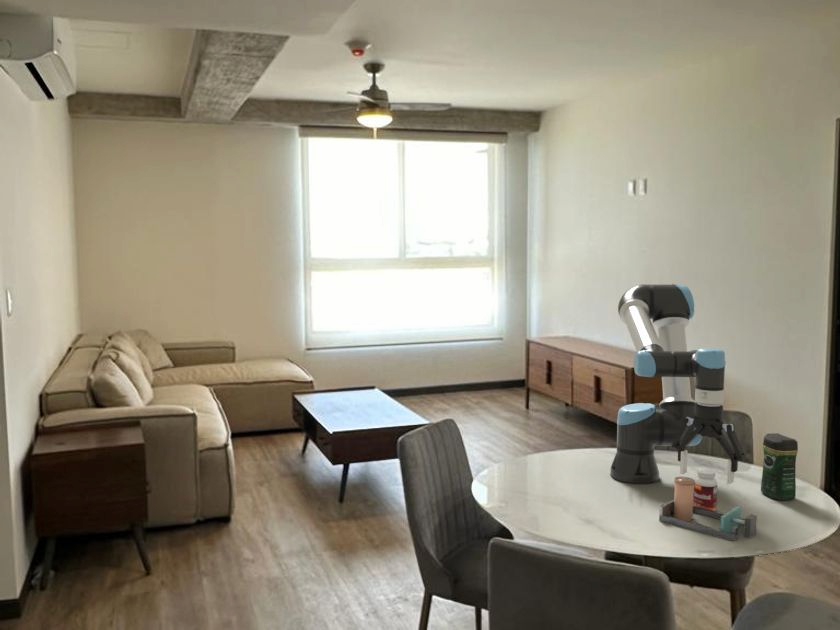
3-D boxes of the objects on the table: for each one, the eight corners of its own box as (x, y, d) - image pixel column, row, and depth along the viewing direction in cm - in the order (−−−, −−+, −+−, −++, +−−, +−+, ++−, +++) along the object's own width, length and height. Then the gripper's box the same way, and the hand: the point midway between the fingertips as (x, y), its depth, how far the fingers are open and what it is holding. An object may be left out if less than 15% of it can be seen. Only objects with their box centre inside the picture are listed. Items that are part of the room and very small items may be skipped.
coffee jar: (800, 500, 229) (803, 438, 227) (776, 502, 227) (779, 440, 225) (779, 490, 238) (782, 430, 236) (755, 491, 237) (758, 431, 235)
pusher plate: (720, 535, 202) (721, 516, 201) (737, 524, 210) (737, 506, 209) (744, 541, 198) (745, 522, 197) (761, 530, 205) (761, 511, 205)
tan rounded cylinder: (669, 517, 214) (671, 479, 213) (678, 512, 218) (679, 475, 217) (687, 522, 211) (689, 483, 210) (696, 517, 215) (697, 479, 213)
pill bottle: (689, 509, 221) (691, 471, 220) (697, 503, 226) (699, 466, 225) (711, 514, 217) (713, 475, 216) (719, 508, 222) (721, 470, 221)
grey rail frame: (659, 520, 212) (659, 506, 212) (681, 508, 222) (682, 494, 221) (733, 541, 198) (734, 525, 198) (754, 526, 208) (755, 512, 207)
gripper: (661, 399, 224) (659, 471, 226) (748, 412, 207) (745, 490, 209) (673, 396, 230) (670, 466, 231) (759, 408, 213) (756, 484, 214)
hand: (706, 477), depth 220 cm, fingers open, 13 cm apart
